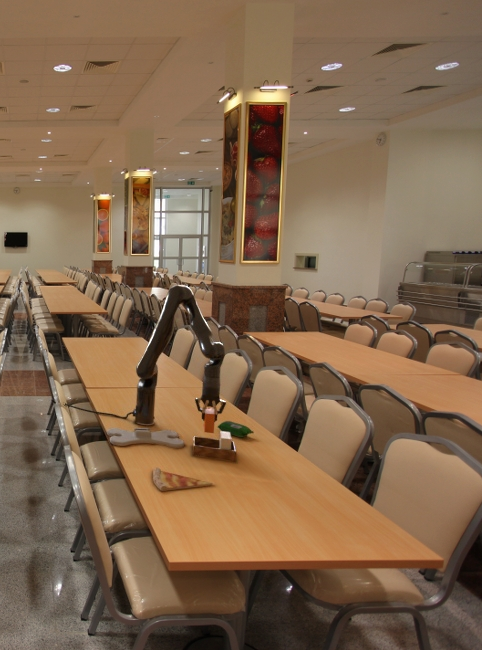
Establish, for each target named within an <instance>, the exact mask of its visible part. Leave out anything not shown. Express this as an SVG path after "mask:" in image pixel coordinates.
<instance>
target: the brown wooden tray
mask: <svg viewBox="0 0 482 650" xmlns="http://www.w3.org/2000/svg"><path fill="white" fill-rule="evenodd" d="M192 438H193V439H192V456H194V457H202V458H208V459H215V460H221V461H222V460H223V461H230V462H236V459H237V458H236V457H237V449H236V444H235V441H233V440H231V450H226V449H219V441H220V438H219V439H218V438H212V437H204V436H197V435H193V437H192Z"/></svg>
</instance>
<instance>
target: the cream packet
mask: <svg viewBox="0 0 482 650" xmlns="http://www.w3.org/2000/svg"><path fill="white" fill-rule="evenodd" d="M219 439H220V441H219V449H226V450H231V441H232V435H231V434H230V432H224V431H221V430H220V431H219Z"/></svg>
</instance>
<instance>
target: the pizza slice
mask: <svg viewBox="0 0 482 650" xmlns="http://www.w3.org/2000/svg"><path fill="white" fill-rule="evenodd" d="M152 481H153V483H154V485H155V486H156V488H157V489H158V490H159V491H160V492H165V491H172V490H174V491H175V490H182V489H191V488H199V487H209V486H213V485H214V483H213V482H209V481H205V480H201V479H197V478H192V477H189V476H185V475H180V474H176V473H171V472H167V471H164V470H161V468H159V467H155V468H153V472H152Z"/></svg>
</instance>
